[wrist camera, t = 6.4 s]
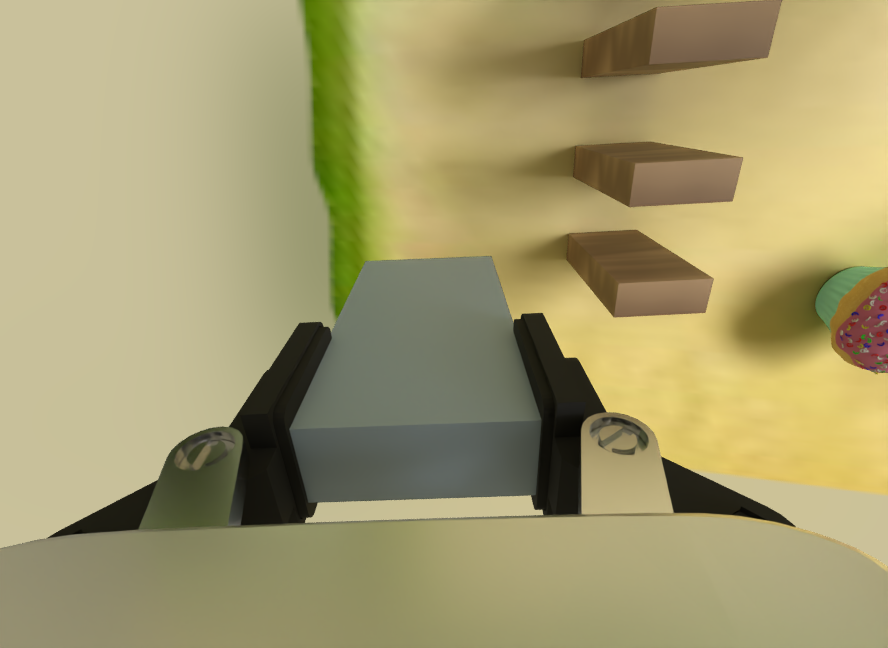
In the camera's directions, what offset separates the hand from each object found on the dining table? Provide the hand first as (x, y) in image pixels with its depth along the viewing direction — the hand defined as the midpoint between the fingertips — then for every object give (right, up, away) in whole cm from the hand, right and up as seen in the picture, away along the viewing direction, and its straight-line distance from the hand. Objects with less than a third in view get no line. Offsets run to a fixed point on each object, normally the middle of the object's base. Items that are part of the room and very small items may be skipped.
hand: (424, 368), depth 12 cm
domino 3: (+12, +12, +18) cm, 25 cm away
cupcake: (+33, +4, +22) cm, 40 cm away
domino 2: (+12, +18, +15) cm, 26 cm away
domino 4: (+12, +7, +20) cm, 25 cm away
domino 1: (0, +3, +6) cm, 7 cm away
